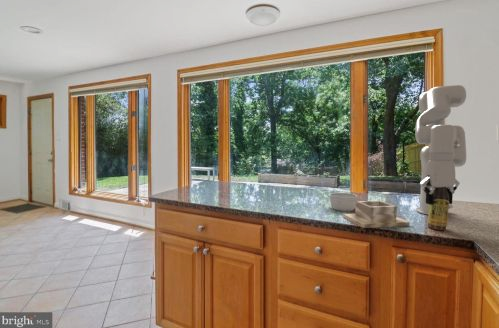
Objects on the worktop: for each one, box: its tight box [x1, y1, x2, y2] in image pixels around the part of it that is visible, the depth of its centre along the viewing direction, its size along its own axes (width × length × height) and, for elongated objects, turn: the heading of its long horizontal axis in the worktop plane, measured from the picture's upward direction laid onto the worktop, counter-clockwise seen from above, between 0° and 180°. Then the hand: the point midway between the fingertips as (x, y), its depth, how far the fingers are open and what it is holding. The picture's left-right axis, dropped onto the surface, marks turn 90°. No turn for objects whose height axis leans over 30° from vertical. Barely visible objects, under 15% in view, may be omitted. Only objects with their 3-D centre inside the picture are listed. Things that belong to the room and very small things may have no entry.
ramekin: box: [329, 192, 358, 212], centre depth 143 cm, size 13×13×7 cm
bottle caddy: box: [343, 200, 411, 229], centre depth 120 cm, size 20×16×8 cm
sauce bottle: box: [427, 187, 450, 231], centre depth 109 cm, size 7×6×20 cm
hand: (438, 203), depth 109 cm, fingers open, 7 cm apart
